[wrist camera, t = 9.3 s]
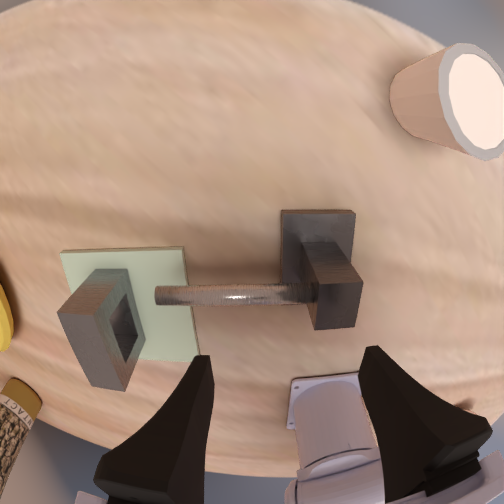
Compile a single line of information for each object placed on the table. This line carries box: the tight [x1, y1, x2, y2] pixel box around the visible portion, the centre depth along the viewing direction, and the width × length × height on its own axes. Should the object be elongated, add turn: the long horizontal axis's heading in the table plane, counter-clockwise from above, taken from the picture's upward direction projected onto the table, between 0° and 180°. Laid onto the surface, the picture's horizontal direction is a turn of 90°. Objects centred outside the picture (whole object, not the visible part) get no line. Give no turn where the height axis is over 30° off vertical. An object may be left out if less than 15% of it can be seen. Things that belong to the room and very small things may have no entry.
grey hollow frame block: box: [57, 269, 146, 392], centre depth 19 cm, size 7×3×6 cm, turn 1°
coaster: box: [59, 247, 200, 362], centre depth 23 cm, size 11×11×1 cm
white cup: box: [389, 43, 504, 161], centre depth 13 cm, size 7×7×7 cm
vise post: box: [154, 210, 363, 330], centre depth 18 cm, size 7×13×7 cm, turn 91°
